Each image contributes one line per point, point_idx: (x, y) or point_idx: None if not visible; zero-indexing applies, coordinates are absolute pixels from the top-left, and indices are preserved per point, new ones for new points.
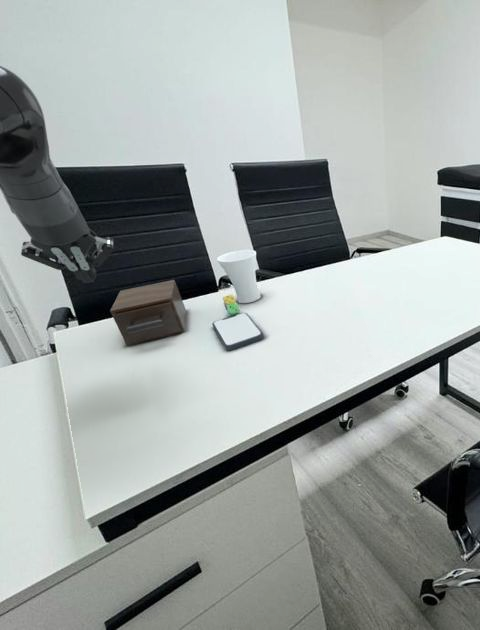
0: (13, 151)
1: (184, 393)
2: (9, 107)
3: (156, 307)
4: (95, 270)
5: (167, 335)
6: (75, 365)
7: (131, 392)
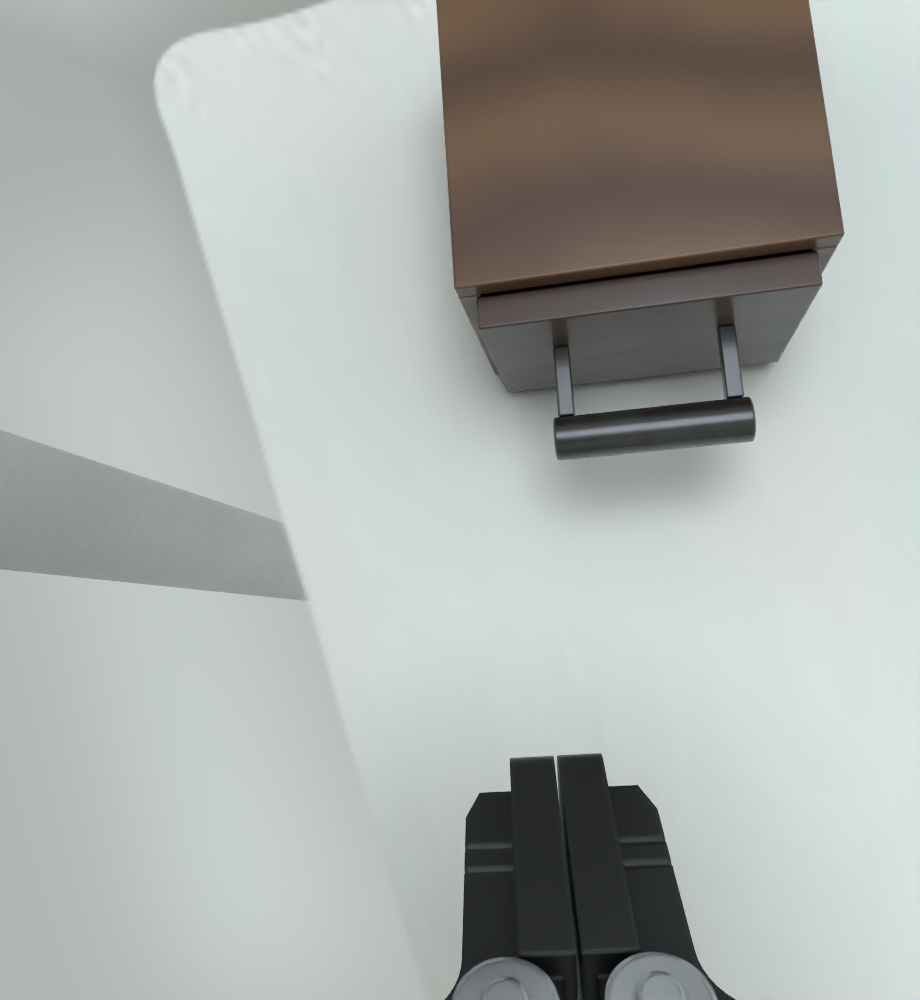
0: None
1: None
2: None
3: (730, 301)
4: (662, 832)
5: None
6: (301, 471)
7: None
